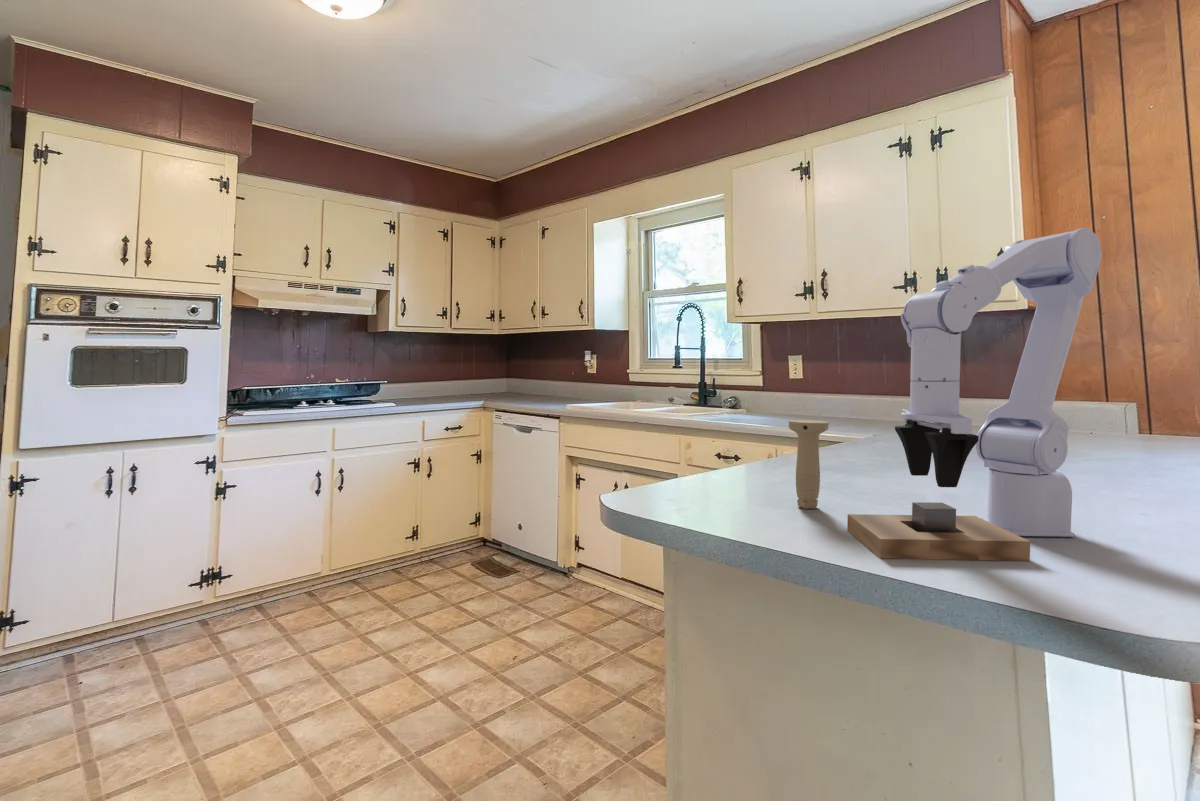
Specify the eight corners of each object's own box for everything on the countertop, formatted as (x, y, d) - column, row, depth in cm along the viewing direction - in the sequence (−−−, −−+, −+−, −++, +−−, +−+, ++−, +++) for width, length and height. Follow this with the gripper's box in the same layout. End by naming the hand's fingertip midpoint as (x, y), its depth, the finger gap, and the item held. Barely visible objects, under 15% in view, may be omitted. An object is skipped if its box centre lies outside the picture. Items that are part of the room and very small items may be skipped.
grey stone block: (941, 541, 79) (942, 502, 78) (955, 549, 75) (956, 509, 75) (911, 541, 79) (912, 502, 79) (923, 549, 76) (924, 508, 75)
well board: (974, 532, 82) (975, 515, 82) (1029, 560, 70) (1030, 541, 70) (847, 530, 84) (847, 514, 84) (880, 558, 72) (880, 538, 72)
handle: (824, 512, 94) (825, 423, 93) (785, 508, 98) (785, 422, 97) (829, 506, 98) (830, 421, 97) (791, 502, 102) (792, 419, 101)
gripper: (881, 379, 83) (880, 470, 84) (930, 383, 69) (927, 492, 70) (931, 379, 83) (929, 470, 84) (991, 382, 68) (988, 492, 69)
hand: (932, 480), depth 77 cm, fingers open, 7 cm apart
